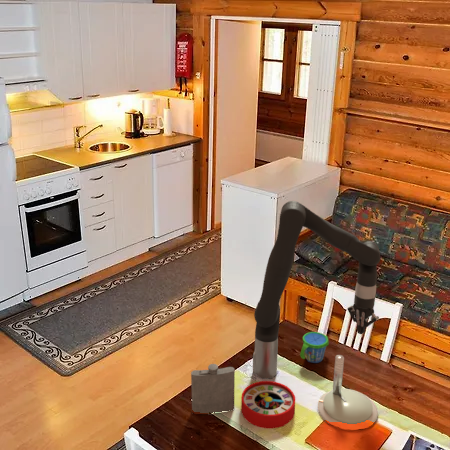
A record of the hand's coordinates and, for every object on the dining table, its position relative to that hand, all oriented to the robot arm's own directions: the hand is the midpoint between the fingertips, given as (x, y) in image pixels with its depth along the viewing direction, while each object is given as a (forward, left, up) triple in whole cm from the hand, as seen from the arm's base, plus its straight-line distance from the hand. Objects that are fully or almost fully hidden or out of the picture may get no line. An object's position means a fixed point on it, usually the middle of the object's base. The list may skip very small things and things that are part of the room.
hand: (360, 333), depth 221 cm
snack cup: (-20, +9, -23) cm, 32 cm away
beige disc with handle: (0, -18, -22) cm, 28 cm away
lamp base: (0, -18, -23) cm, 29 cm away
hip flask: (-46, -38, -23) cm, 64 cm away
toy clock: (-27, -30, -23) cm, 46 cm away
